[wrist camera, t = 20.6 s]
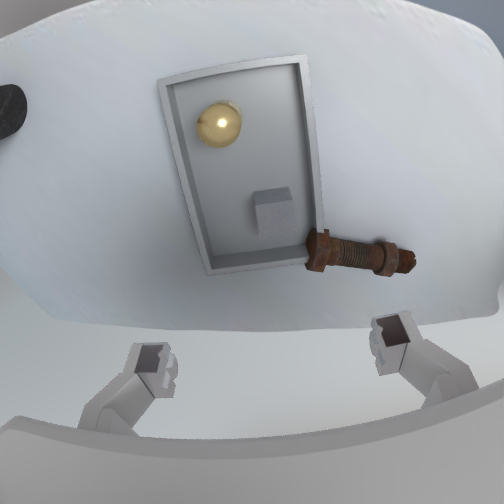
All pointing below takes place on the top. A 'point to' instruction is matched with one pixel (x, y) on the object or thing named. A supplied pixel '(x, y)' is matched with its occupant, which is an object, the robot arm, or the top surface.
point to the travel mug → (11, 109)
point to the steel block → (275, 212)
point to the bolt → (356, 255)
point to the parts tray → (247, 159)
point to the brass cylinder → (220, 124)
